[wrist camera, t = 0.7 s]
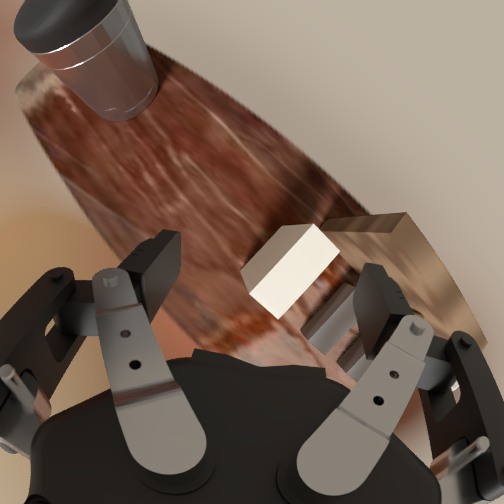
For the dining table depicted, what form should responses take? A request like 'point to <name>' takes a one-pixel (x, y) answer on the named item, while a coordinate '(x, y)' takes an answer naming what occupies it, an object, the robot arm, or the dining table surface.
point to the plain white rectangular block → (287, 266)
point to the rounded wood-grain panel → (401, 271)
